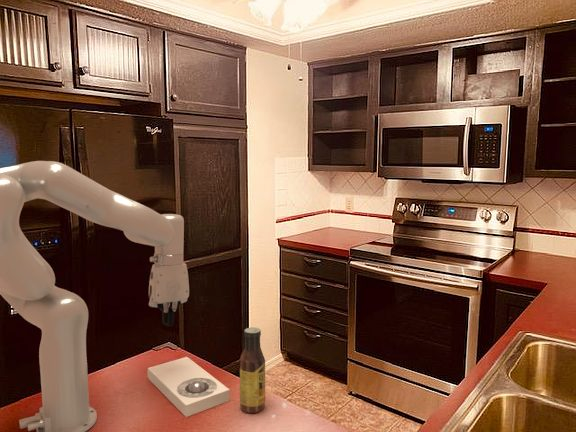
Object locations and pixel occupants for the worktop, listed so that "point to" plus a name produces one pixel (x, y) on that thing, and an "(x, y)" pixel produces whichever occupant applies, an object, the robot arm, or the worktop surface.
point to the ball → (196, 387)
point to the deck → (187, 385)
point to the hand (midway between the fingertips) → (168, 324)
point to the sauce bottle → (252, 373)
